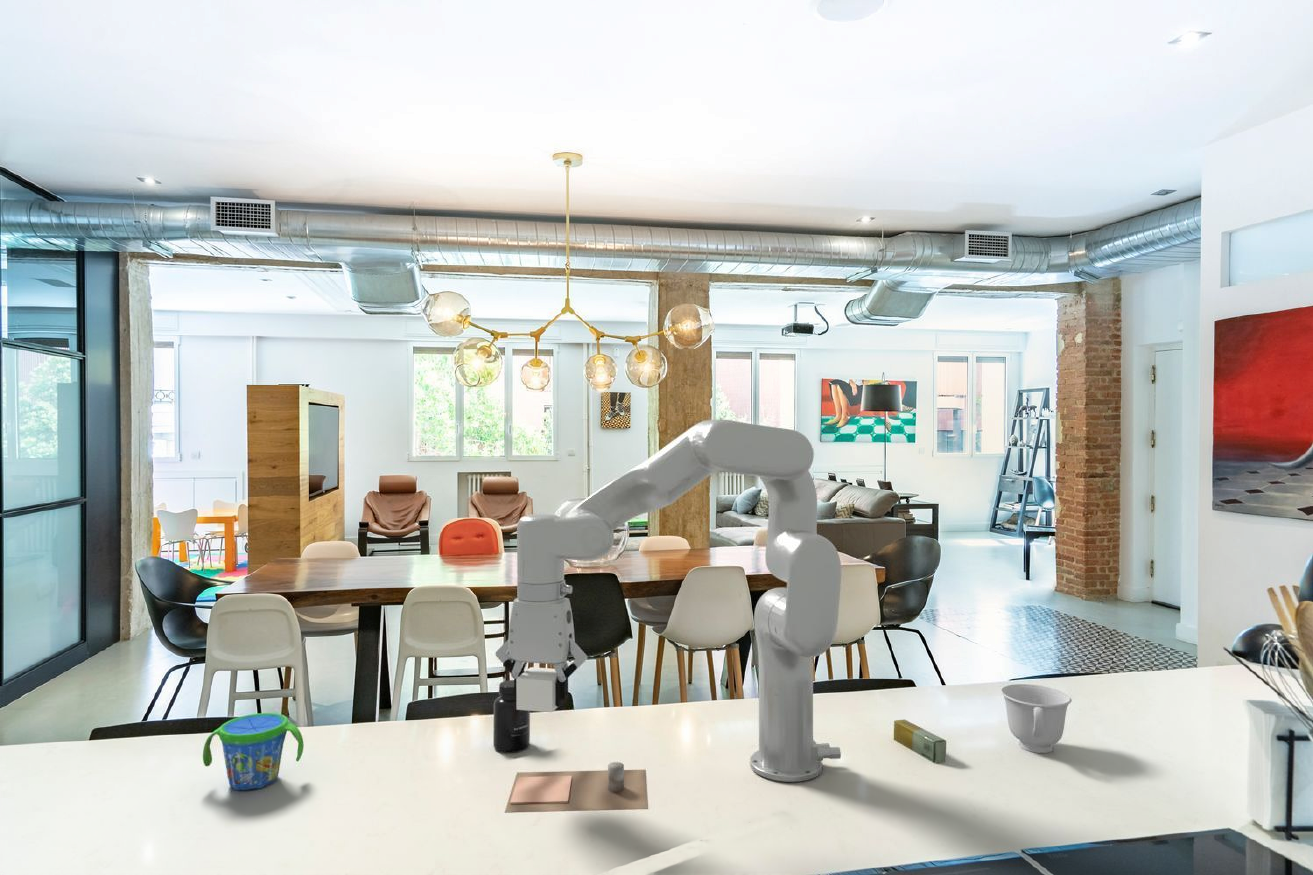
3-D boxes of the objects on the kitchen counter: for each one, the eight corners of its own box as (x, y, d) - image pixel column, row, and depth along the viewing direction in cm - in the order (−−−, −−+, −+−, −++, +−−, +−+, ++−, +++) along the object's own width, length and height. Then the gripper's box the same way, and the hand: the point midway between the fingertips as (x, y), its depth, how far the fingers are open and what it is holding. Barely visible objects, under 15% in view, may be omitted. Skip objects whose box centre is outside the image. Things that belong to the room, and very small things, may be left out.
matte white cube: (564, 699, 130) (564, 669, 130) (552, 712, 124) (552, 680, 124) (530, 697, 131) (530, 667, 131) (516, 709, 125) (516, 678, 125)
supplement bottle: (522, 755, 145) (521, 690, 145) (487, 752, 147) (487, 688, 146) (535, 740, 152) (534, 678, 152) (502, 738, 153) (501, 676, 153)
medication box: (947, 762, 141) (947, 740, 142) (935, 764, 141) (935, 742, 141) (903, 738, 153) (904, 717, 153) (892, 740, 152) (892, 719, 152)
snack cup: (313, 767, 140) (312, 711, 140) (287, 795, 130) (287, 733, 130) (223, 770, 139) (222, 712, 139) (190, 797, 129) (190, 736, 129)
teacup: (1002, 760, 142) (1001, 705, 142) (999, 731, 155) (999, 680, 155) (1077, 771, 137) (1077, 714, 137) (1068, 739, 151) (1067, 688, 151)
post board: (645, 778, 135) (645, 747, 135) (648, 818, 121) (647, 784, 121) (517, 781, 134) (516, 750, 134) (504, 821, 120) (504, 787, 120)
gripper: (598, 589, 129) (598, 698, 129) (500, 584, 133) (501, 690, 133) (584, 598, 122) (584, 714, 122) (481, 593, 125) (481, 706, 126)
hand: (541, 701), depth 127 cm, fingers closed on matte white cube, 6 cm apart
